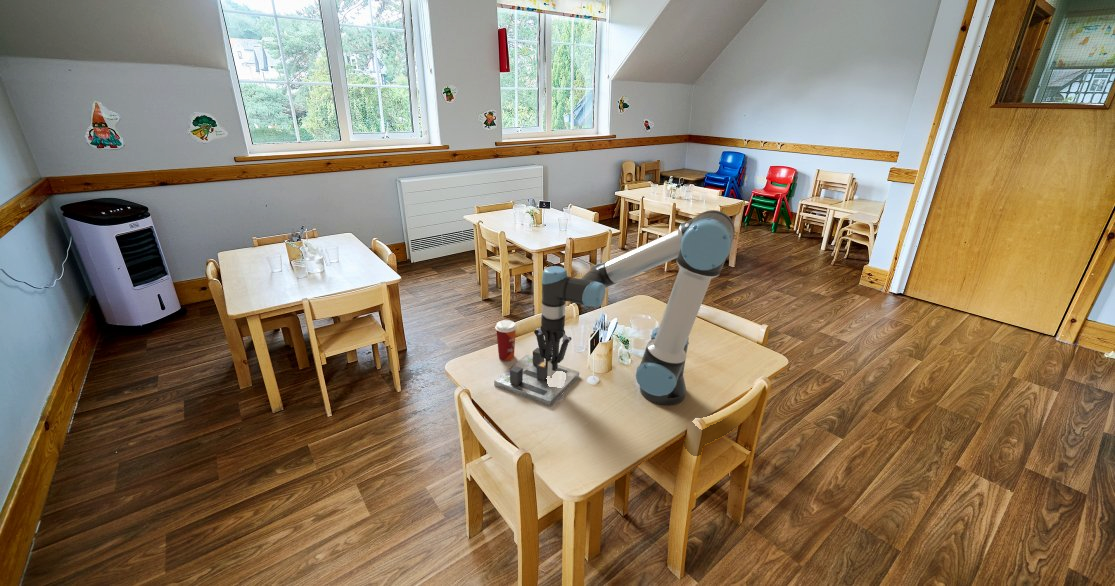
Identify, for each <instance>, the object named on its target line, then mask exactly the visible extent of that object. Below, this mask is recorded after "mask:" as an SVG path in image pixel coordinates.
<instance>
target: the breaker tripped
mask: <svg viewBox="0 0 1115 586" xmlns="http://www.w3.org/2000/svg"><path fill="white" fill-rule="evenodd" d="M547 373H548V369H547V368H546V363H545V362H540V363H539V364H538V365H537V378H538V379H541V380H544V381H545V380H546V378H547Z"/></svg>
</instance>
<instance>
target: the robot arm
mask: <svg viewBox="0 0 1115 586" xmlns="http://www.w3.org/2000/svg"><path fill="white" fill-rule="evenodd" d="M735 234H736V229H735V225H734V222H733V220H732V219H731V217H730V215H728V214H726V213H725V212H722V211H720V210H714V209H713V210H706V211H703V212H701V213H699V214H698V215H696V216H694V217H693V218H690V219H689V220H687V221H685V222H683V223H681V224H680V225H679V227H678V229H676V230H674V231H671V232H669V233H667V234H665V235H663V236H661V237H658V238H656V239H654V240H651V241H649V242H647V243H645V244H643V245H641V246H638V247H636V248H634V249H632V250H629V251H627V252H625V253H623V254H620V255H619V256H616V257H614V258H612V259H609V260H608V261H605V262H599V263H597V264H596V265H594V266H592V267H591V268H590V269H589V270H588V271H587V273H585V274H584V275H583V276H582V277H581V278H577V277H572V276H568V272H567V271H568V270H567V269H566V268H565V267H563V266H559V265H554V266H553V265H551V266H548V267H546V268H545V269H543V270H542V277H541V278H542V279H541V309H540V311H541V313H540V314H541V317H540V322H541V323H540V324H541V326H540V327H537V328H536V329H535V330H534V331H533V332H534V335H535V337H536V340H537V345H538V348H539V351H540V356H541V357H542V358H544V360H545V361H546V368H547V369H548V373H547V376H550V378H552V375H553V374H554V373H555V370H557V368H558V365H559V364H560V363H561V362H562V361H563V360H564V359H565V356H566V353H567V348H568V346H569V343H570V342H571V341H572V337H571V336H567V335H566V330H565V325H566V324H565V323H566V315H565V314H566V303H567V302H569V303H573V304H577V305H582V306H585V307H591V308H600V307H601V306H602V305H603V302H604V301H605V298H606V289H607V288H609V287H610V286H613V285H616V284H617V283H620V282H622V281H624V280H628V279H629V278H631V277H635V276H637V275H640V274H641V273H644V272H646V271H649V270H651V269H653V268H656V267H659V266H661V265H663V264H666V263H668V262H670V261H672V260H675V259H676V264H677V266H678V268H679V269H678V272H677V275H676V278H675V280H674V284H673V286H672V290H671V292H670V295H669V297H668V300H667V303H666V306H665V310H664V312H663V315H662V318H661V320H660V323H659V326H657V327H656V328H654V329H652V332H651V335H650V337H651V338H650V340H648V342H647V343H646V346H645V350H644V352H643V356H642V358H641V360H640V363H639V365H638V366H637V368H636V372H635V379H636V383H637V384H638V385H639V392H640V393H641V395H642V397H644V398H645V399H646V400H648V401H650V402H652V403H654V404H658V405H661V406H662V405H663V406H673V405H677V404H680V403H682V402H684V400H685V399H686V395H687V394H686V393H687V388H686V382H685V377H684V376H685V375H684V372H685V364H686V361H687V353H688V347H689V344H690V342H689V339H690V338H689V336H690V334H691V332H692V330H693V326H694V325H695V321H696V319H697V316H698V314H699V311H700V308H701V306H702V303H703V301H704V298H705V296H706V293H707V290H708V288H709V286H710V283H711V280H712V279H715V278H717V277H719V276H720V274H721V272H722V269H723V267H724V264H725V262H726V260H727V258H728V257H729V254H730V253H731V251H732V245H733V244H732V243H733V240H734V238H735ZM561 339H562V342H561ZM560 342H561V346H560Z"/></svg>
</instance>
